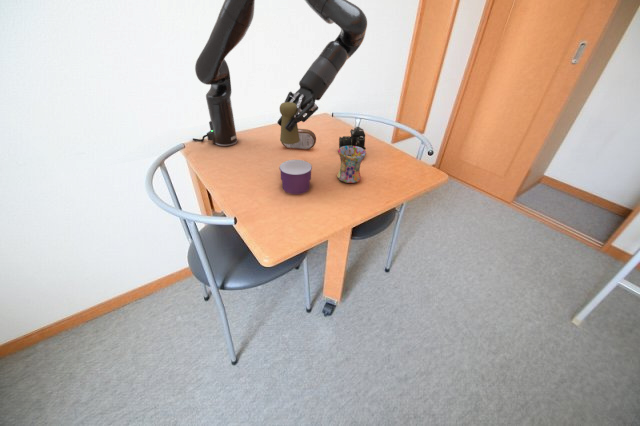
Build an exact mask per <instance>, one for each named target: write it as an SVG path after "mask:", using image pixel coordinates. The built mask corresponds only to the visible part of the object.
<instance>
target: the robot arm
mask: <svg viewBox="0 0 640 426" xmlns="http://www.w3.org/2000/svg"><path fill="white" fill-rule="evenodd" d="M304 1H305V3H306V4H307V6H308V7H309V9H311V10H312V11H313V12H314V13H315V14H316V15H317V16H318V17H319V18H320V19H321V20H323V21H324V22H325V23H326V24H328V25H332V24H336V26H338V27H339V28H340V32H339V34H338V35H337V37H336V38H335V39H334V40H331V41H329V42H328V43H327V44H326V45H325V47H324V48H323V49H322V51H321V52H320V54H319V55H318V57H316V59H315V60H314V61H313V62H312V63H311V65H310V66H309V68H308V69H307V70H306V72H305V73H304V75H303V76H302V78H301V79H299V82H298V85H299V88H298V90H296V91H295V93H294V92H292V91H289V92H288V94H287V95H286V98H285V100H284V102H293V103H295V104H296V113H295V114H294V115H293V117H291V119H290V120H289V121H288V123H287V124H286V126H285V129H286V130H288V131H289V132H291V131H292V130H293V129H294V127H295V126H296V124H297V125H298V123H301V122H302V123H305V122H307V120H308V119H309V118H311V117H312V116H313V115H314V114H315V113H316V112H317V111H318V110H319V106H318V105H317V104H316V101H320V100H321V99H322V98H323V97H324V95H325V93H326V92H327V91H328V89H329V88H330V86H331V85H332V84H333V82H334V80H335V79H336V77H337V75H338V74H339V72H340V71H341V70H342V68H343V67H344V66H345V64H346V62H347V61H348V60H349V59H350V58H351V57H352V56H353V55H354V54H355V53H356V52H357V51H358V49H359V48H360V47H361V45H362V44H363V42H364V40H365V37H366V33H367V28H368V18H367V16H366V14H365V13H364V11H363V10H362V8H361V7H359V6H357V5H356V4H354V3H353V2H351V1H349V0H304ZM255 5H256V0H224V1H223V4H222V6H221V9H219V10H220V11H219V13H218V16H217V18H216V21H215V24H214V25H213V27H212V30H211V32H210V34H209V37H208V39H207V42H206V43H205V45H204V47H203V49H202V50H201V52H200V54H199V56H198V57H197V59H196V61H195V66H194V71H195V76H196V78H197V79H198V81H199V82H200V83H202V84H204V85H208V86H210V88H209V90H208V91H207V92H206V94H205V99H206V104H207V105H206V106H207V111H208V114H209V119H210V120H209V122H208V124H209V129H210V130H209V131H208V132H207V133H206V134H204V135H203V136H202V138H200V139H199V138H192V141H194V142H195V141H196V142H203V141H205V138H207V141H208V142H209V141H210V142H212V144H213V145H216V146H219V147H231V146H234V145H236V144H237V143H238V136H237V130H236V124H235V118H234V112H233V111H234V110H233V105H232V99H231V97H232V81H231V74H230V73H231V72H230V69H229V65H228V63H227V61H226V60H225V59H226V57H227V56H228V55H229V54H230V53H231V51H233V50H234V49H236V47H237V46H238V45H239V44H240V43H241V41H242V40H243V39H244V37H246V34H247V32H248V30H249V28H250V27H251V24H252V22H253V20H254V16H255V7H256V6H255ZM281 121H282V115H280V117H279V119H278V120H277V121H276V122H277V125H279V126H280V127H281Z"/></svg>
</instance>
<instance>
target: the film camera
mask: <svg viewBox="0 0 640 426" xmlns="http://www.w3.org/2000/svg"><path fill="white" fill-rule="evenodd" d="M349 132H350V136H349V135H346V136H345V135H343V136H339V137H338V138H339V139H338V149H339V148H341V147H343V146H357V147H360V148H362V149H364V150H365V151H366V149H367V148H366V147H365V146H366V145H365V144H366V133H365V130H364V128H362V127H360V126H356V127H354V128H353V129H350V131H349Z"/></svg>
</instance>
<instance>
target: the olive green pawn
mask: <svg viewBox="0 0 640 426" xmlns="http://www.w3.org/2000/svg"><path fill="white" fill-rule="evenodd" d="M279 113H280V116H282V121H281V126H280V138H279V142H281V144H282V143H285V144H295V143H298V142H299V141H300V139H299V132H298V129H299V127H298V123H297V124H296V126H295V127H294V129H293V130H292V131H291V132H289V131H288V130H286V129H285V126H286V124H287V123H288V121H289V120H290V119H291V117H293V115H294V114H295V113H296V104H295V103H293V102H285V101H284V102H282V103H280V105H279Z"/></svg>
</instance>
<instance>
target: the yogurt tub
mask: <svg viewBox="0 0 640 426" xmlns="http://www.w3.org/2000/svg"><path fill="white" fill-rule="evenodd" d="M278 167H279V171H280V180H281V184H282V185H281V187H282V190H283V191H284V192H285V193H287V194H290V195H300V194H301V195H302V194H305V193H307V192H309V190H310V188H311V179H312V170H313V165H312V164H311V163H310V162H308V161H306V160H303V159H289V160H285V161H283V162H281V164H279V166H278Z"/></svg>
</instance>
